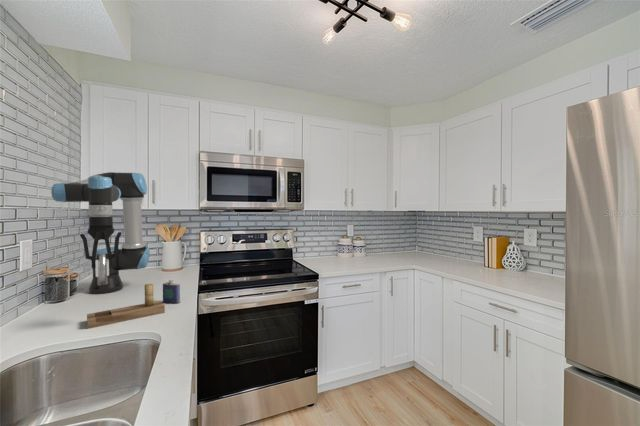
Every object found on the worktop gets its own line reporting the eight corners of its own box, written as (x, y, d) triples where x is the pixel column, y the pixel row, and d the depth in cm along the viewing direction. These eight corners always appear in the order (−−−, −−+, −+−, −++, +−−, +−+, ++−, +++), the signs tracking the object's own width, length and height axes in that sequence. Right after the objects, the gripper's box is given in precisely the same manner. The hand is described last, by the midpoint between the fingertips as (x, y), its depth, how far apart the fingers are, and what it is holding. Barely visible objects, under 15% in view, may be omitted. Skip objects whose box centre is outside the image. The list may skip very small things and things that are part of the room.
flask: (181, 302, 141) (180, 279, 140) (176, 304, 138) (176, 281, 137) (165, 300, 143) (165, 278, 143) (160, 302, 140) (160, 280, 140)
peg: (97, 284, 117) (96, 253, 117) (107, 282, 119) (106, 253, 119) (97, 285, 115) (96, 254, 114) (107, 284, 117) (107, 254, 116)
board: (87, 321, 117) (86, 291, 117) (160, 307, 134) (159, 280, 134) (87, 328, 110) (86, 296, 110) (164, 312, 127) (164, 284, 127)
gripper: (74, 216, 108) (76, 280, 109) (126, 215, 118) (127, 274, 119) (75, 216, 114) (76, 277, 115) (123, 215, 124) (124, 271, 125)
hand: (102, 275), depth 117 cm, fingers closed on peg, 3 cm apart
